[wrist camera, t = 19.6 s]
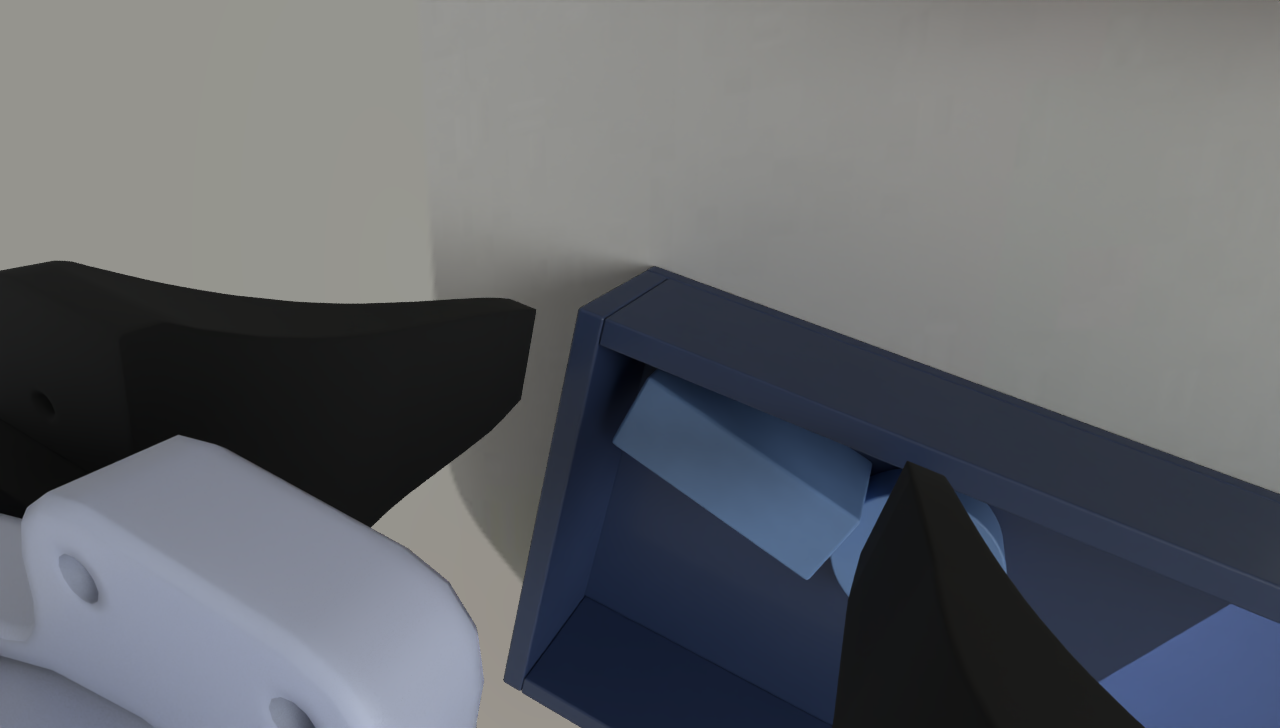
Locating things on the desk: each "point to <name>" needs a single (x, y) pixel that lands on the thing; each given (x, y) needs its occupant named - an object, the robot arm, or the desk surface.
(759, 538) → the blue disc on block
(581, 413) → the navy bin
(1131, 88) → the desk surface
